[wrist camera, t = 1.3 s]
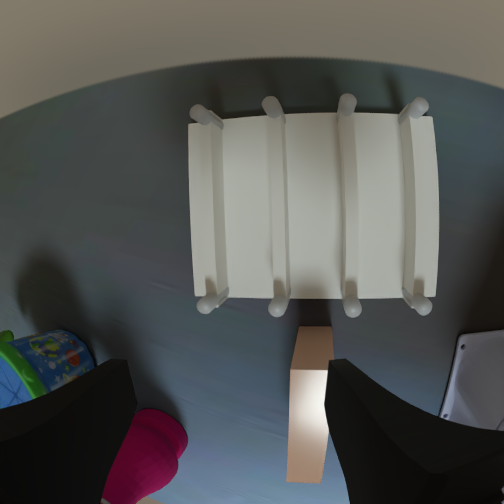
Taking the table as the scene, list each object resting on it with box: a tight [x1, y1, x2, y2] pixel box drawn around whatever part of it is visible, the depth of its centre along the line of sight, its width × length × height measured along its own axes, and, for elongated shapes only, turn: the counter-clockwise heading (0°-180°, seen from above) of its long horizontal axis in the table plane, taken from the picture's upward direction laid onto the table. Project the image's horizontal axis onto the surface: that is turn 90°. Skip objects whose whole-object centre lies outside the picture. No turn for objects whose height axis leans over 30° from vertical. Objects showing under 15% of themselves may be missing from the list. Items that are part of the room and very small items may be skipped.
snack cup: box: [0, 329, 95, 409], centre depth 24 cm, size 16×10×10 cm
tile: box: [286, 326, 334, 483], centre depth 21 cm, size 10×2×7 cm, turn 2°
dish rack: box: [188, 93, 439, 317], centre depth 20 cm, size 13×18×5 cm
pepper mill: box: [100, 409, 188, 504], centre depth 19 cm, size 7×7×20 cm
